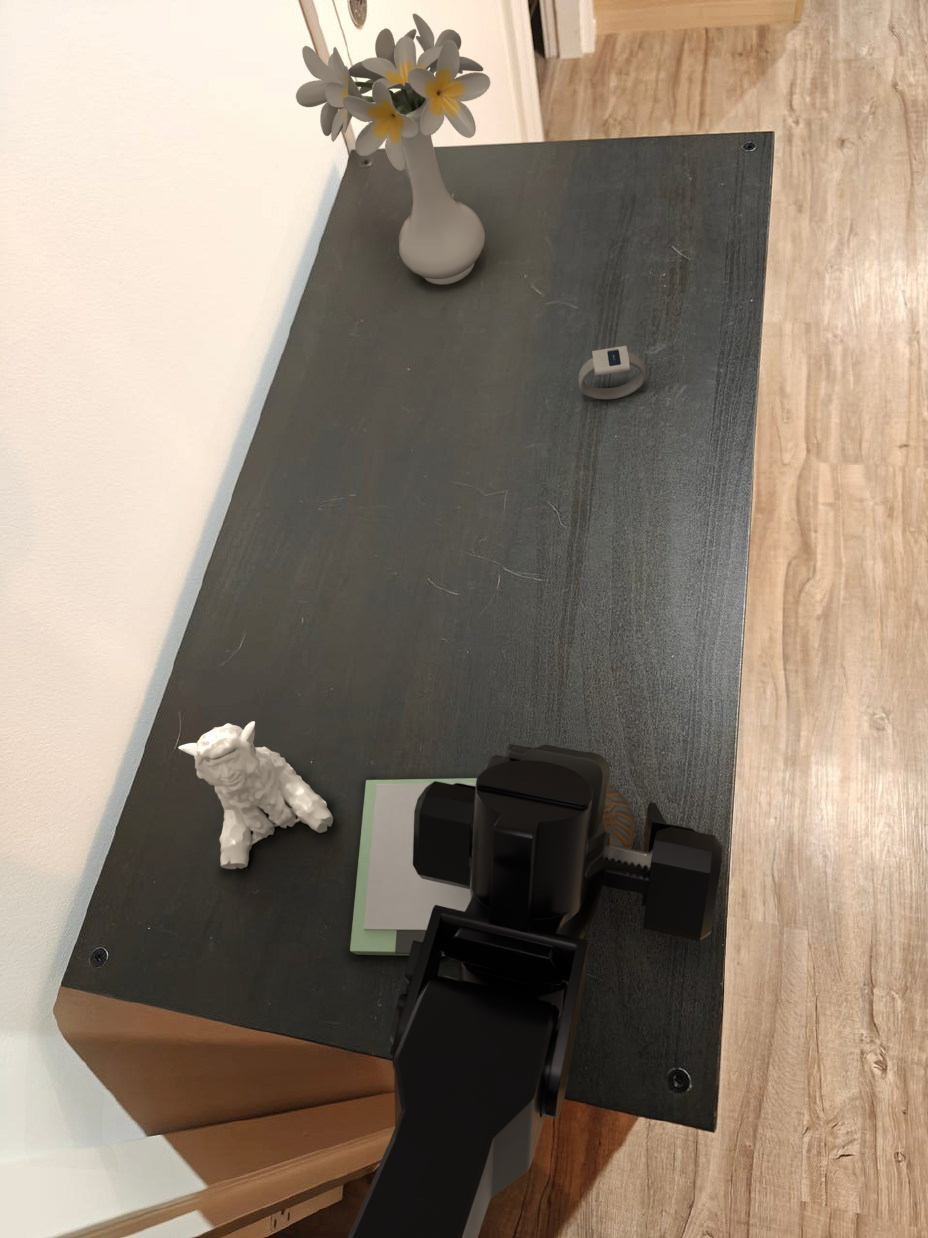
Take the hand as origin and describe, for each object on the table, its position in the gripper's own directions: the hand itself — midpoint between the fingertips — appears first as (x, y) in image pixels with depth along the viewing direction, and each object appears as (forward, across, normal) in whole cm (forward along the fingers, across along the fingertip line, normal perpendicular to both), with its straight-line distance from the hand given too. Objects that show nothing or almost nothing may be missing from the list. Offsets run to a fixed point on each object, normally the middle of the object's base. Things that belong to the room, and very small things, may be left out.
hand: (586, 796), depth 66 cm
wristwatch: (+34, +6, -24) cm, 42 cm away
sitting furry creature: (+2, +26, +8) cm, 27 cm away
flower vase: (+46, +28, -35) cm, 64 cm away
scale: (+1, +10, +9) cm, 14 cm away
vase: (+4, 0, +6) cm, 7 cm away
